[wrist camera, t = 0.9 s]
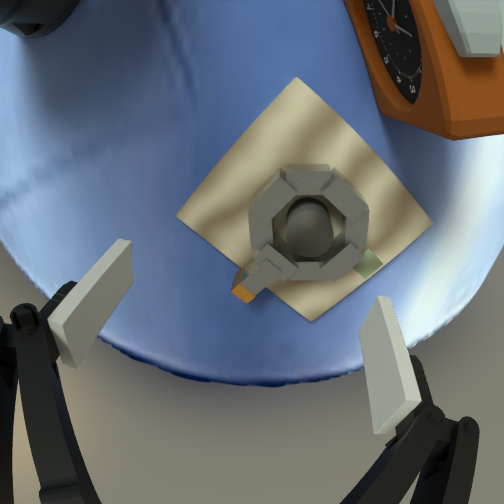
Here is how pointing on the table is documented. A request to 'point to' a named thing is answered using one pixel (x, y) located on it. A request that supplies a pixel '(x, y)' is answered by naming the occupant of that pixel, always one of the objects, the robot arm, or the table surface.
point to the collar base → (304, 196)
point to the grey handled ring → (277, 250)
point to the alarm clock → (435, 62)
